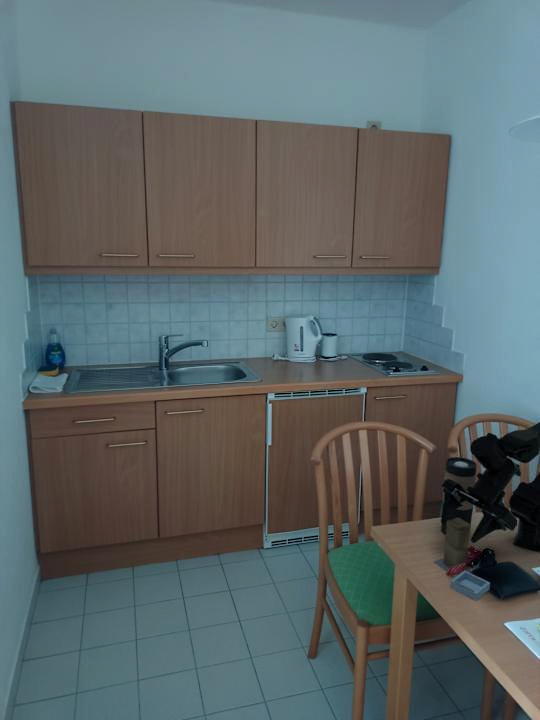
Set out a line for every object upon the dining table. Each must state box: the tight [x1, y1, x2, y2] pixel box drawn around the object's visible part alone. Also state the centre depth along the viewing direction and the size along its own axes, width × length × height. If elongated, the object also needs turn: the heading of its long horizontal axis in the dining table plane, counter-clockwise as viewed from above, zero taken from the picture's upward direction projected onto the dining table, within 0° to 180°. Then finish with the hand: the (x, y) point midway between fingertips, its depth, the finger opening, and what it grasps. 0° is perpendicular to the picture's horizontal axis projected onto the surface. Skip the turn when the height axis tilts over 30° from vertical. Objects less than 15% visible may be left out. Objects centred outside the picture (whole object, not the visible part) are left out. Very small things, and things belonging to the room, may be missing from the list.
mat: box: [432, 557, 471, 578], centre depth 124 cm, size 7×7×1 cm
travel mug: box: [440, 456, 478, 536], centre depth 137 cm, size 8×8×20 cm
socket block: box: [449, 570, 491, 602], centre depth 115 cm, size 6×6×2 cm
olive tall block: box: [443, 518, 472, 568], centre depth 123 cm, size 4×4×11 cm
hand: (456, 532), depth 122 cm, fingers open, 9 cm apart
